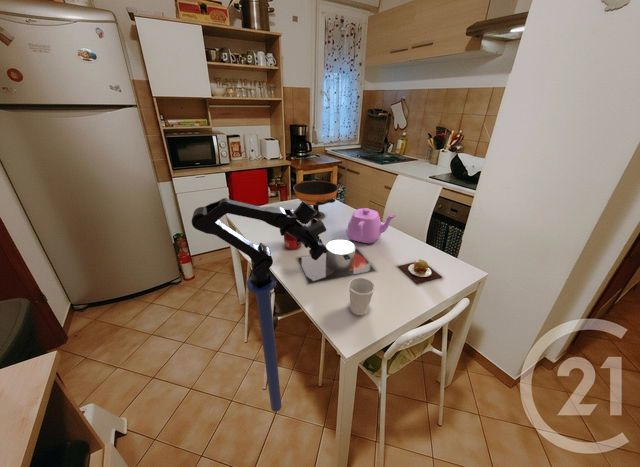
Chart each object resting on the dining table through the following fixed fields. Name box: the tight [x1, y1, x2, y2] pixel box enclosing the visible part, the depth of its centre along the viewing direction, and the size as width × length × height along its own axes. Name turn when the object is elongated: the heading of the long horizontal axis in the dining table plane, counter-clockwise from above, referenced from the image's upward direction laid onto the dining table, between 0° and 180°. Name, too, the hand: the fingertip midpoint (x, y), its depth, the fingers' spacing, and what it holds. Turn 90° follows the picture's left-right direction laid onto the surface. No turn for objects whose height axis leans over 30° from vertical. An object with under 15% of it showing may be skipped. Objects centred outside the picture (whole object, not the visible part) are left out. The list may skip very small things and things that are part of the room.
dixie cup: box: [347, 277, 376, 316], centre depth 85 cm, size 8×8×10 cm
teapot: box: [346, 207, 397, 244], centre depth 127 cm, size 23×21×15 cm
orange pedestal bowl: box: [292, 180, 339, 220], centre depth 151 cm, size 36×26×18 cm
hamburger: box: [397, 259, 443, 285], centre depth 105 cm, size 12×12×6 cm
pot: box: [325, 238, 356, 271], centre depth 109 cm, size 12×15×8 cm
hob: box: [297, 247, 376, 284], centre depth 111 cm, size 28×18×1 cm, turn 108°
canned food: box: [283, 232, 302, 251], centre depth 122 cm, size 8×8×11 cm
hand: (326, 251), depth 106 cm, fingers closed, pressing on pot
